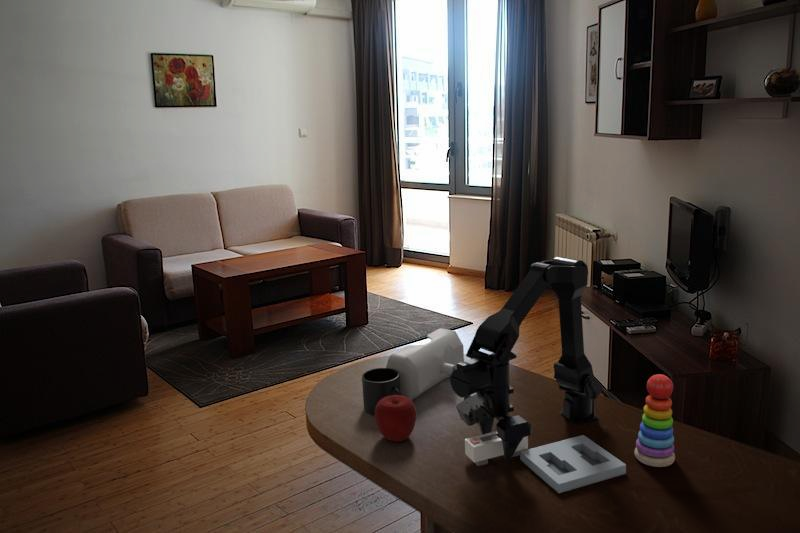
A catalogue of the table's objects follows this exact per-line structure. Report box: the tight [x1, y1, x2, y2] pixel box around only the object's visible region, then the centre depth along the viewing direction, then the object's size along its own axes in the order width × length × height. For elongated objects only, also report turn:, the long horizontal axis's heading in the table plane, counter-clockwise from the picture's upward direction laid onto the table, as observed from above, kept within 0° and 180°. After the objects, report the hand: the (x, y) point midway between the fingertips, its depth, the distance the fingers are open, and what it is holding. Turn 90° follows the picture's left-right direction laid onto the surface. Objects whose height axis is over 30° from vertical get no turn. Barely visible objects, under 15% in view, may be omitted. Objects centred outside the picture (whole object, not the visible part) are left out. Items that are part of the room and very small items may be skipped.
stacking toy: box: [633, 373, 676, 468], centre depth 139 cm, size 8×8×19 cm
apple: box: [374, 395, 417, 443], centre depth 155 cm, size 10×10×10 cm
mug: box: [361, 367, 401, 416], centre depth 169 cm, size 9×12×9 cm
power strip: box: [464, 430, 529, 467], centre depth 144 cm, size 13×4×5 cm, turn 112°
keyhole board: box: [519, 434, 627, 494], centre depth 140 cm, size 16×14×2 cm
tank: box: [385, 327, 465, 401], centre depth 182 cm, size 25×16×12 cm, turn 143°
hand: (496, 450), depth 145 cm, fingers open, 9 cm apart
